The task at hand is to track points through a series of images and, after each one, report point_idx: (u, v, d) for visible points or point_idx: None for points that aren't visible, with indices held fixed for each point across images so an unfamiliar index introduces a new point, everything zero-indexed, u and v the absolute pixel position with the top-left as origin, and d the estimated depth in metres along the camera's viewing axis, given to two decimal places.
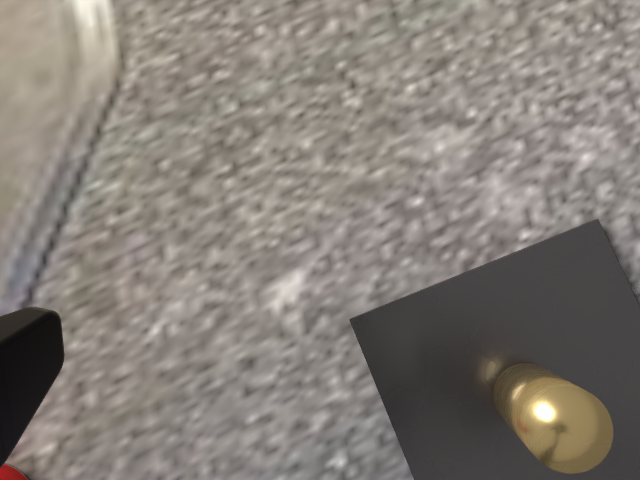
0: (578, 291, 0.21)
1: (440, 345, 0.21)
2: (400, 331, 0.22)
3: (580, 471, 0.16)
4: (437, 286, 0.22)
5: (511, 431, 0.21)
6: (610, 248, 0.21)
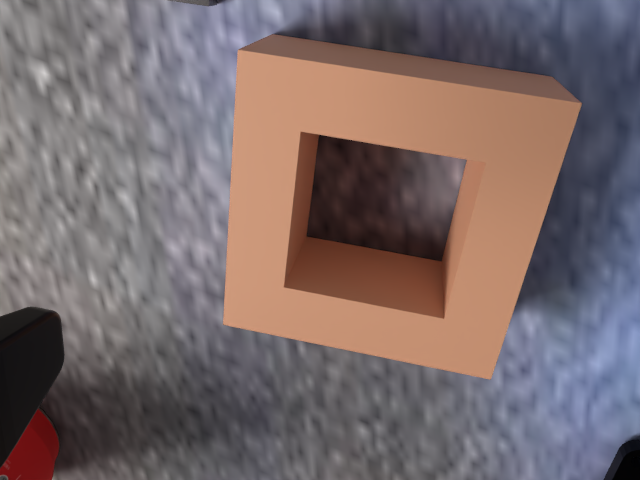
0: None
1: None
2: None
3: None
4: None
5: None
6: None
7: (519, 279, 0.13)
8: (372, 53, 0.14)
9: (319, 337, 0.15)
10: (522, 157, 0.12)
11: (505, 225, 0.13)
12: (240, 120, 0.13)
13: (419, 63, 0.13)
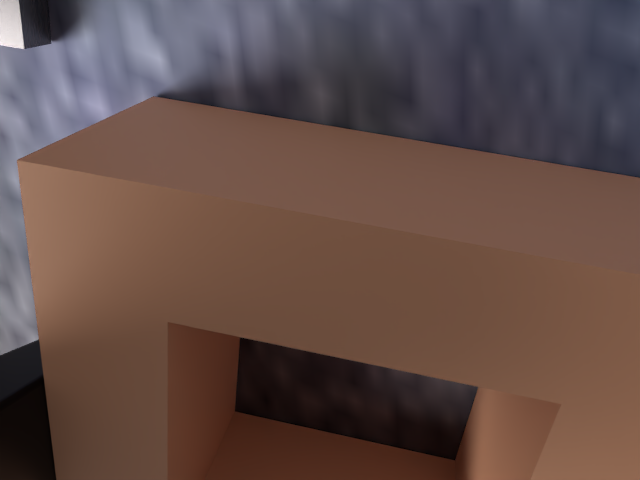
0: None
1: None
2: None
3: None
4: None
5: None
6: None
7: None
8: (328, 141, 0.07)
9: None
10: None
11: None
12: (48, 294, 0.06)
13: (417, 165, 0.07)
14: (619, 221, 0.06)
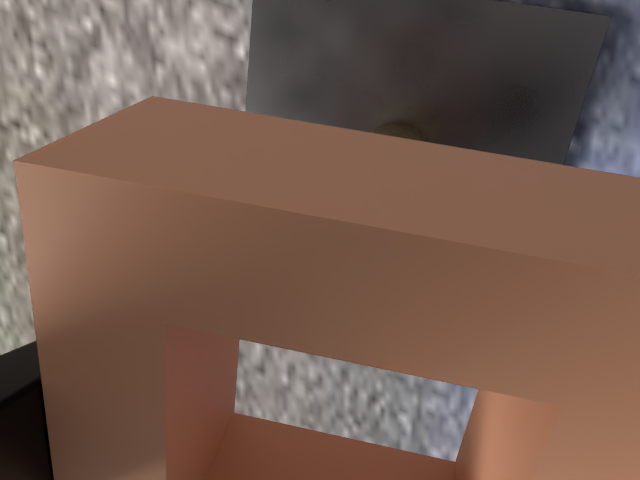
0: (321, 40, 0.17)
1: None
2: None
3: None
4: None
5: None
6: None
7: None
8: (328, 141, 0.07)
9: None
10: None
11: None
12: (45, 295, 0.06)
13: (418, 166, 0.07)
14: (621, 222, 0.06)
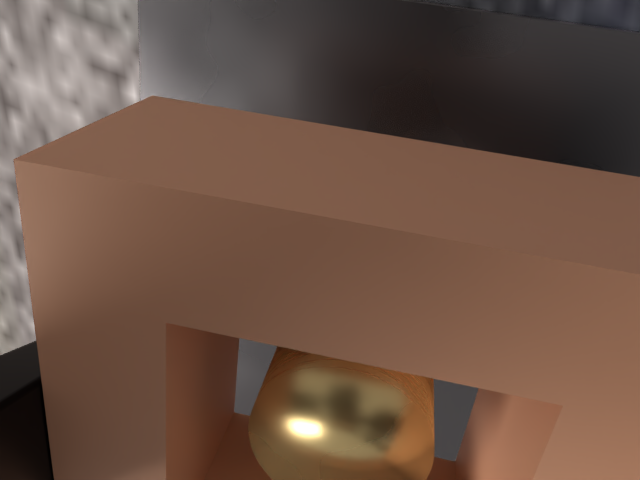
0: (251, 82, 0.11)
1: None
2: None
3: (426, 473, 0.07)
4: None
5: None
6: None
7: None
8: (328, 140, 0.07)
9: None
10: None
11: None
12: (45, 293, 0.06)
13: (418, 165, 0.07)
14: (621, 221, 0.06)
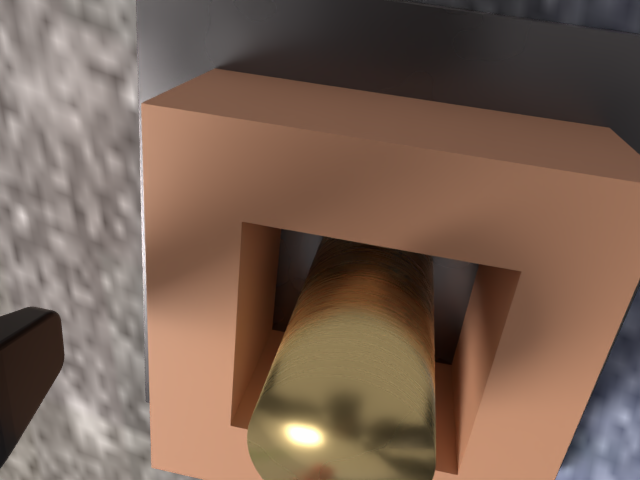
0: None
1: None
2: None
3: None
4: None
5: None
6: None
7: (568, 430, 0.09)
8: (352, 97, 0.09)
9: None
10: (578, 265, 0.08)
11: (549, 358, 0.08)
12: (154, 204, 0.08)
13: (419, 113, 0.09)
14: (564, 146, 0.08)
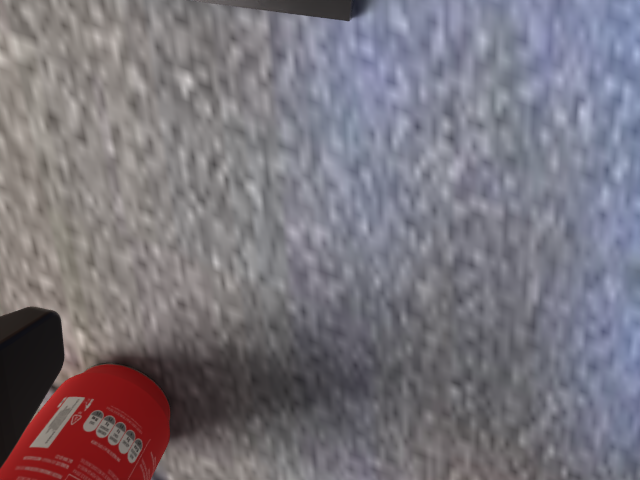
0: None
1: None
2: None
3: None
4: None
5: None
6: None
7: None
8: None
9: None
10: None
11: None
12: None
13: None
14: None
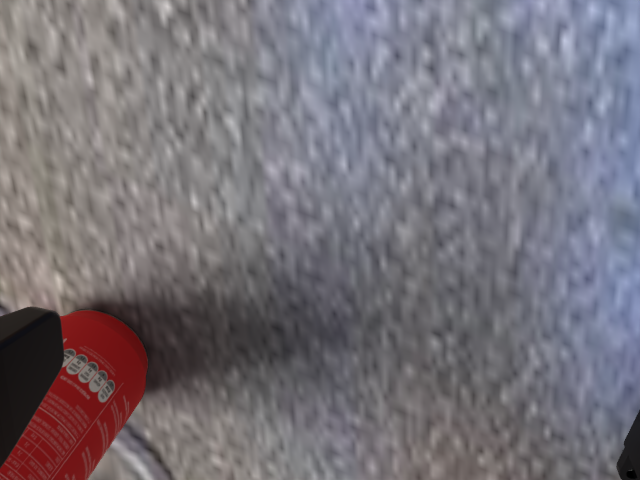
0: None
1: None
2: None
3: None
4: None
5: None
6: None
7: None
8: None
9: None
10: None
11: None
12: None
13: None
14: None
